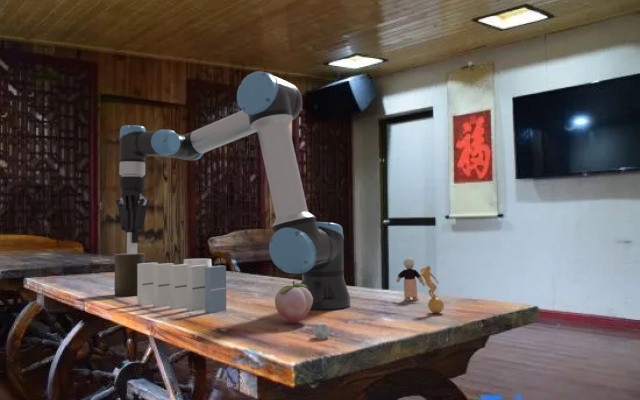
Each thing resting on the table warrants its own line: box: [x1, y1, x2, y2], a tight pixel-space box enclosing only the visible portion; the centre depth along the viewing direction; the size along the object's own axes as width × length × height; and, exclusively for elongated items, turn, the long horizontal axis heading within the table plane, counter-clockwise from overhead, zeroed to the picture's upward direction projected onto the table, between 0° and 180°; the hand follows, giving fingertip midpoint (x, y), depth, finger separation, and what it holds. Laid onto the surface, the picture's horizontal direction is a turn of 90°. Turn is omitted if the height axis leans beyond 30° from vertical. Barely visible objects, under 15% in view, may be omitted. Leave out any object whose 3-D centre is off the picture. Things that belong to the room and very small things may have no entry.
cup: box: [183, 258, 213, 267], centre depth 184 cm, size 9×9×12 cm
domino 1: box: [136, 261, 159, 306], centre depth 170 cm, size 2×6×12 cm, turn 146°
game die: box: [311, 322, 331, 340], centre depth 117 cm, size 4×4×3 cm
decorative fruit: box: [274, 280, 313, 324], centre depth 134 cm, size 9×8×10 cm
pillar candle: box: [113, 252, 146, 297], centre depth 192 cm, size 10×10×15 cm
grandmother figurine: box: [396, 256, 422, 302], centre depth 170 cm, size 8×4×13 cm, turn 92°
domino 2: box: [152, 262, 175, 308], centre depth 166 cm, size 2×6×12 cm, turn 146°
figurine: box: [419, 265, 445, 314], centre depth 147 cm, size 8×6×12 cm
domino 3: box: [169, 263, 191, 310], centre depth 162 cm, size 2×6×12 cm, turn 146°
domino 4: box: [186, 265, 208, 312], centre depth 158 cm, size 2×6×12 cm, turn 146°
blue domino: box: [204, 265, 227, 314], centre depth 154 cm, size 2×6×12 cm, turn 146°
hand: (132, 253), depth 174 cm, fingers closed
